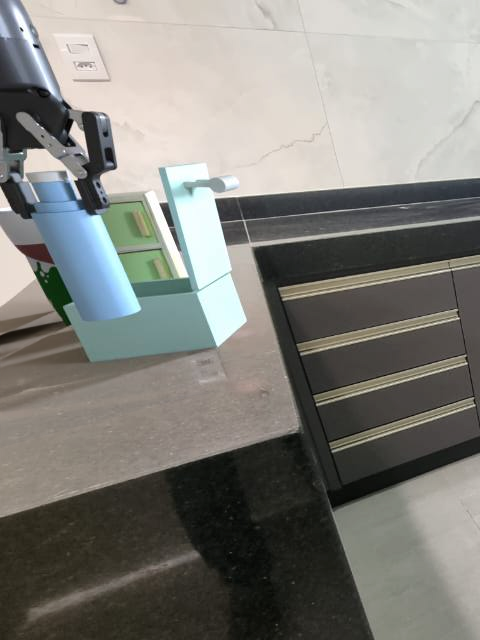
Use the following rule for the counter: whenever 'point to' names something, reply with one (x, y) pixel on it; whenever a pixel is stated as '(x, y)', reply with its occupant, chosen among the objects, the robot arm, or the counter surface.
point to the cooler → (164, 320)
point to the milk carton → (52, 286)
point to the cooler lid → (198, 219)
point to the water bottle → (81, 249)
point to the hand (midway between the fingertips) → (66, 215)
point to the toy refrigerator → (142, 237)
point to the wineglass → (24, 235)
